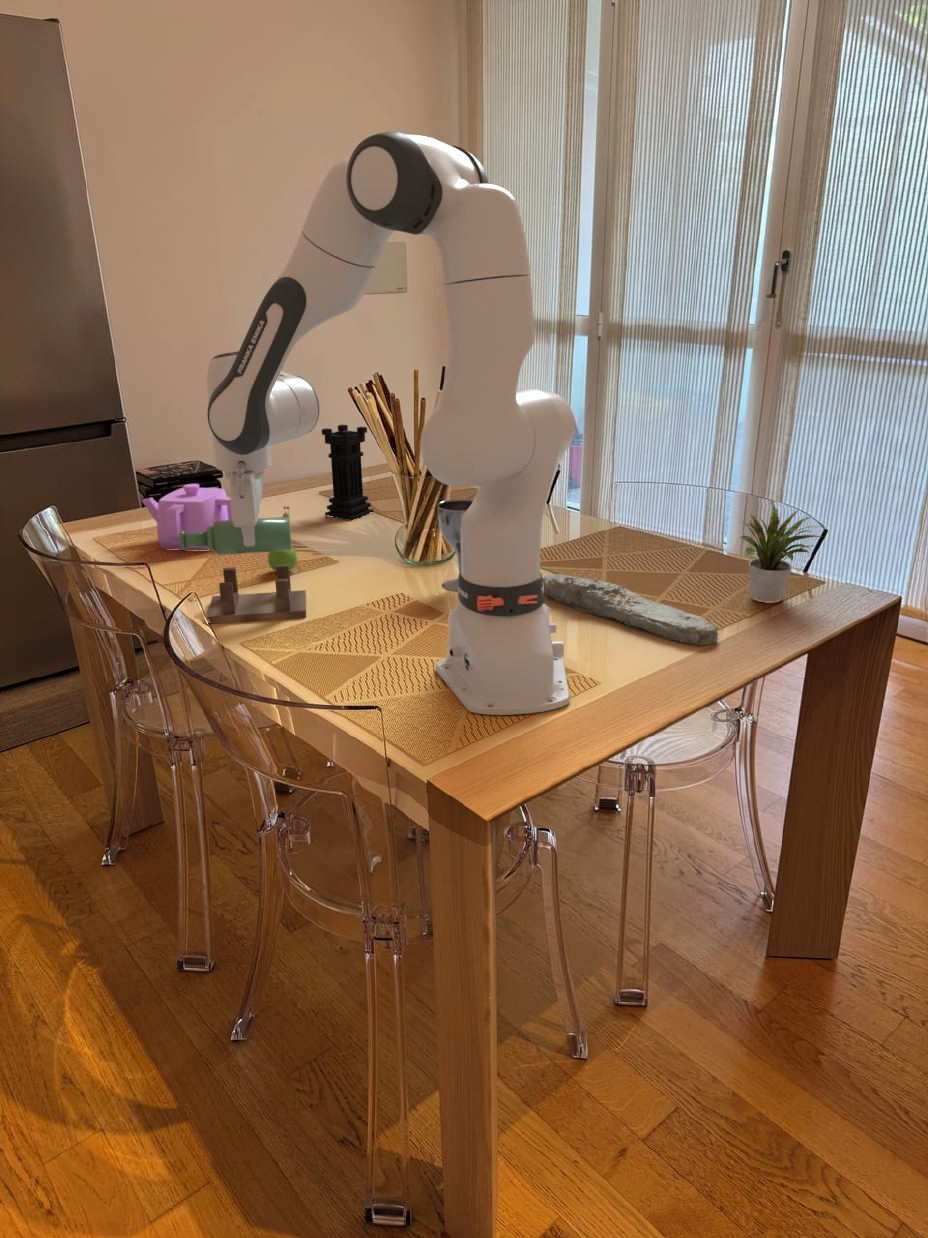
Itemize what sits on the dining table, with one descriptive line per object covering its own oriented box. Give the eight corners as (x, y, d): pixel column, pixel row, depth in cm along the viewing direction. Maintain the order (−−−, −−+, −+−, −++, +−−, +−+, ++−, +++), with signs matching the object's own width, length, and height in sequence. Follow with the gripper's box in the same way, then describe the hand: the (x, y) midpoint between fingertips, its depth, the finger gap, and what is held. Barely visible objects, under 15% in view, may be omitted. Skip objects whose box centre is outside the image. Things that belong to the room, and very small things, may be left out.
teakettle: (173, 559, 181) (165, 499, 177) (145, 540, 194) (136, 483, 189) (252, 543, 191) (246, 486, 186) (220, 526, 203) (214, 472, 199)
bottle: (292, 555, 152) (290, 524, 154) (290, 543, 147) (288, 511, 149) (184, 562, 150) (183, 530, 151) (178, 550, 145) (177, 517, 146)
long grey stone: (692, 663, 136) (728, 648, 143) (698, 631, 134) (734, 617, 141) (524, 594, 159) (562, 583, 166) (527, 565, 157) (565, 556, 164)
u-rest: (306, 596, 160) (303, 562, 158) (306, 617, 151) (303, 581, 149) (213, 602, 158) (209, 567, 155) (207, 623, 149) (202, 587, 146)
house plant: (769, 622, 147) (781, 524, 141) (704, 597, 158) (713, 506, 152) (824, 604, 154) (838, 510, 148) (759, 581, 165) (769, 494, 159)
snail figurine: (305, 566, 176) (300, 506, 171) (290, 577, 170) (285, 515, 165) (279, 564, 177) (274, 505, 172) (264, 575, 171) (258, 513, 167)
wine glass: (478, 593, 161) (478, 511, 155) (435, 590, 162) (433, 509, 157) (486, 578, 168) (486, 499, 162) (444, 576, 169) (443, 498, 164)
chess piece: (373, 512, 212) (369, 426, 205) (352, 520, 206) (347, 432, 199) (346, 508, 216) (341, 423, 209) (325, 516, 210) (319, 429, 202)
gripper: (260, 468, 136) (268, 556, 141) (265, 442, 154) (272, 521, 159) (216, 470, 135) (226, 559, 140) (227, 444, 153) (236, 523, 159)
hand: (251, 538), depth 150 cm, fingers closed on bottle, 6 cm apart
